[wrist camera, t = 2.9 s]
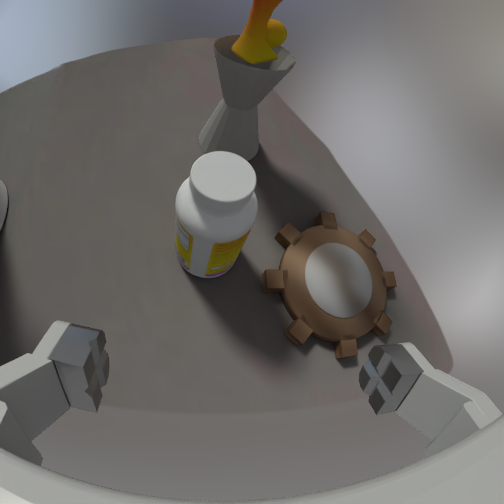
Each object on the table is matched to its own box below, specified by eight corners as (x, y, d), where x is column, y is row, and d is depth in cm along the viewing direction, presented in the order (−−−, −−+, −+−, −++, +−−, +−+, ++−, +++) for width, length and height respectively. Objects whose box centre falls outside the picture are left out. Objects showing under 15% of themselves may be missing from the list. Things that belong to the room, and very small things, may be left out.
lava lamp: (225, 174, 35) (329, -109, 4) (184, 135, 37) (240, -115, 6) (272, 149, 39) (380, -73, 8) (232, 114, 41) (303, -94, 10)
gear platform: (346, 388, 28) (354, 388, 26) (229, 282, 30) (231, 277, 28) (406, 282, 36) (414, 278, 34) (317, 195, 38) (323, 188, 36)
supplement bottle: (244, 237, 32) (281, 162, 21) (223, 289, 29) (255, 231, 18) (190, 214, 32) (201, 130, 20) (164, 264, 29) (159, 191, 17)
